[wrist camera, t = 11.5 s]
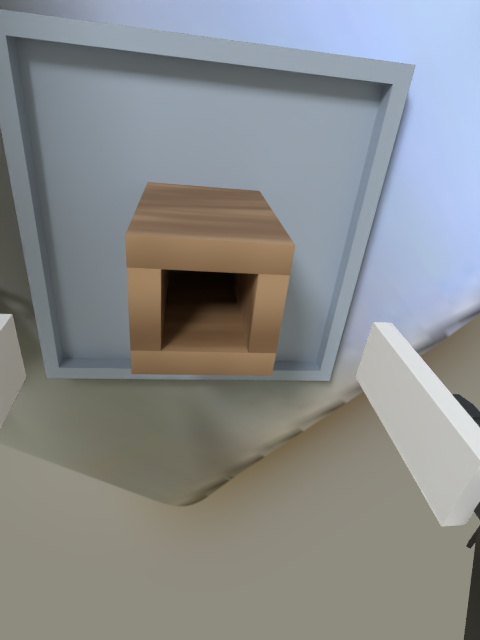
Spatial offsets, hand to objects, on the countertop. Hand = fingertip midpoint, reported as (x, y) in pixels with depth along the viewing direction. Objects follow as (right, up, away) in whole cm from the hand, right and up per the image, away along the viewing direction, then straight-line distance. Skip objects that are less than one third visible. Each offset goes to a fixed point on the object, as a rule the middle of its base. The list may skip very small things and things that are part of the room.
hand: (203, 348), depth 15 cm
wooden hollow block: (-1, +6, +12) cm, 13 cm away
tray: (-1, +7, +12) cm, 14 cm away
